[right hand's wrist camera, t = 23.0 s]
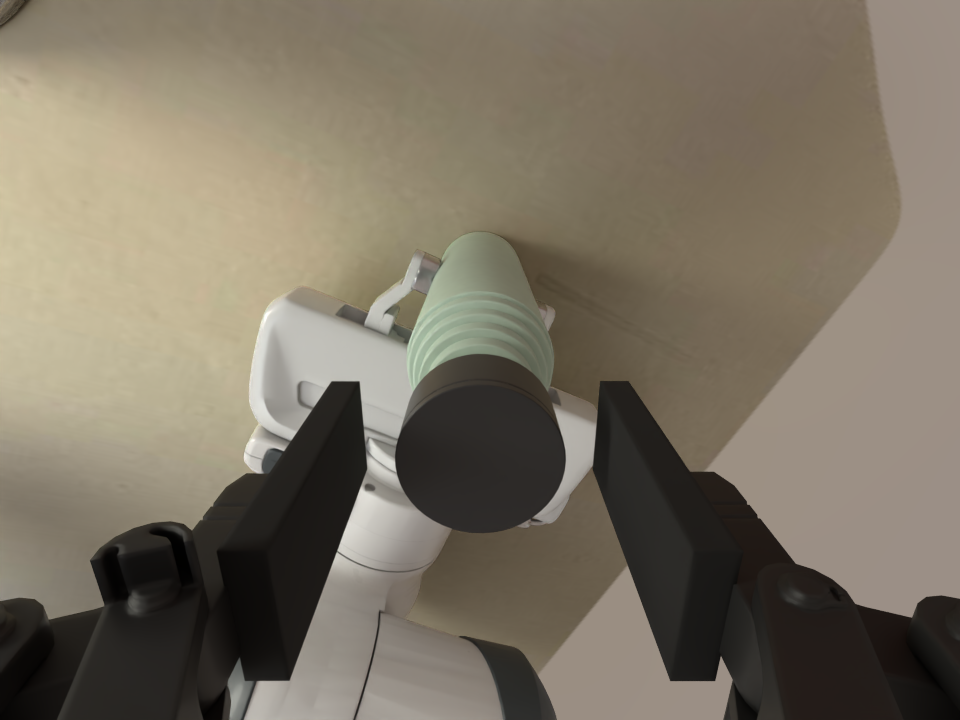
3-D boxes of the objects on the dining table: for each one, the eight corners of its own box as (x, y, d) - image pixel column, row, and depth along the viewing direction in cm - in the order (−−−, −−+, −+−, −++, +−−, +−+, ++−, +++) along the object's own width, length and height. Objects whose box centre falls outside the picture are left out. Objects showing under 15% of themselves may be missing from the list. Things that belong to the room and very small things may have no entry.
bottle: (432, 238, 34) (352, 367, 12) (514, 224, 33) (575, 333, 12) (447, 317, 35) (400, 546, 14) (525, 305, 35) (594, 520, 14)
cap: (447, 326, 14) (442, 355, 12) (582, 394, 14) (598, 432, 12) (382, 448, 15) (367, 493, 13) (508, 505, 16) (513, 556, 14)
